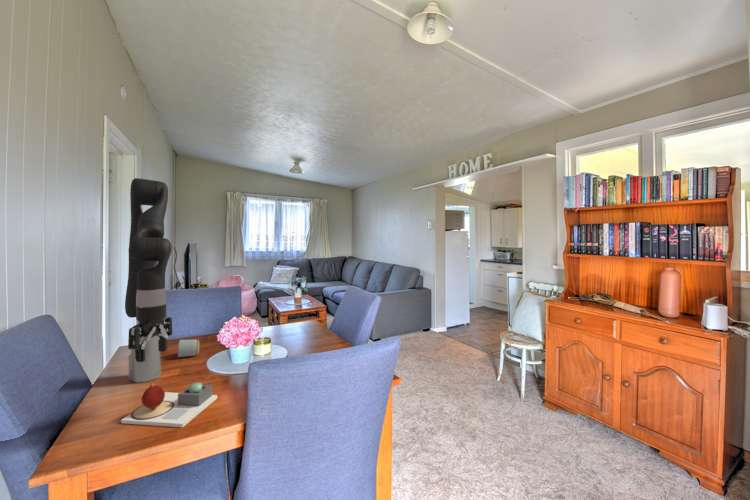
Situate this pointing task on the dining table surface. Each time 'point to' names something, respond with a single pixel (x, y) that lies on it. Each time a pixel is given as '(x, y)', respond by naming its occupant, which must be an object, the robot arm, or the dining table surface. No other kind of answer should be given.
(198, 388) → the button
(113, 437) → the dining table surface
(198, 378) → the dining table surface
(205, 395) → the button housing
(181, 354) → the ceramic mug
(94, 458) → the dining table surface
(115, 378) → the dining table surface
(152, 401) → the onion
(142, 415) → the picture board
